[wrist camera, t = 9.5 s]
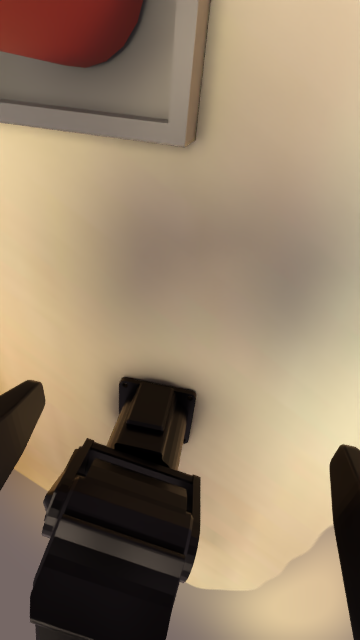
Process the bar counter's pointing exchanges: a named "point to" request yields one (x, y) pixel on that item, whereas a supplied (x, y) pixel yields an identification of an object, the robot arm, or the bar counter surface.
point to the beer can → (67, 29)
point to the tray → (119, 82)
